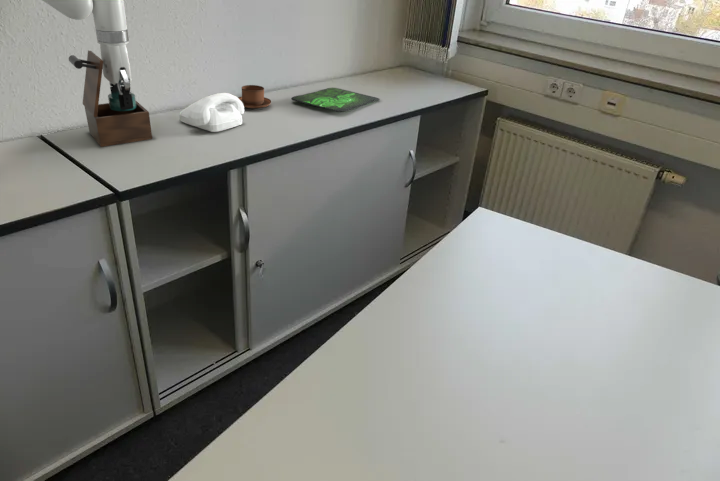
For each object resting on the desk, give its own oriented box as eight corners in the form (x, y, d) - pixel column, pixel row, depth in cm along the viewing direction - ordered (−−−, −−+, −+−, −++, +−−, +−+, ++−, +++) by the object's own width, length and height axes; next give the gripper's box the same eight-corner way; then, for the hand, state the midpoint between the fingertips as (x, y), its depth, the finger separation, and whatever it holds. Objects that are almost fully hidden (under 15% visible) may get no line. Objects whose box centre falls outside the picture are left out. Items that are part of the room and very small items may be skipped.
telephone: (253, 121, 169) (252, 91, 165) (205, 136, 154) (203, 103, 149) (216, 110, 176) (215, 81, 171) (167, 123, 161) (164, 92, 156)
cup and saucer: (227, 104, 181) (226, 85, 178) (256, 99, 189) (255, 81, 186) (249, 113, 174) (249, 94, 171) (278, 107, 183) (278, 89, 180)
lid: (91, 50, 142) (66, 46, 139) (103, 61, 135) (78, 56, 131) (85, 104, 147) (61, 101, 144) (97, 117, 140) (72, 114, 136)
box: (139, 126, 159) (135, 99, 155) (152, 138, 151) (148, 111, 147) (89, 133, 151) (84, 105, 147) (101, 147, 144) (95, 118, 140)
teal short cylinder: (114, 102, 151) (113, 91, 149) (139, 104, 151) (138, 92, 150) (105, 110, 145) (103, 98, 143) (131, 112, 145) (130, 100, 144)
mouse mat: (332, 88, 208) (332, 85, 207) (382, 99, 198) (382, 97, 198) (288, 100, 187) (288, 97, 186) (341, 114, 178) (341, 111, 177)
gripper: (88, 30, 142) (99, 97, 152) (106, 44, 131) (117, 116, 140) (117, 29, 146) (127, 94, 156) (138, 42, 135) (147, 112, 144)
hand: (122, 104), depth 148 cm, fingers closed on teal short cylinder, 6 cm apart
